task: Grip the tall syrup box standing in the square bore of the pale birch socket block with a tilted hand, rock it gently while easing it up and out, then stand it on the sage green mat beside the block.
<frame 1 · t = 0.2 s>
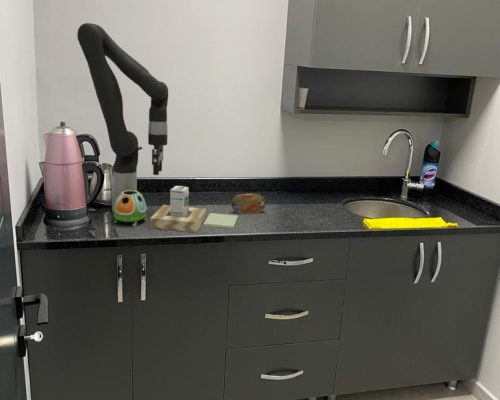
hand: (157, 172, 203), 18 cm above the worktop, tool pointing down, fingers open, 8 cm apart
turtle holder: (131, 220, 200), on the worktop
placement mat: (221, 221, 204), on the worktop
socket block: (179, 222, 200), on the worktop
syrup box: (179, 223, 200), resting in socket block
tin: (247, 212, 219), on the worktop
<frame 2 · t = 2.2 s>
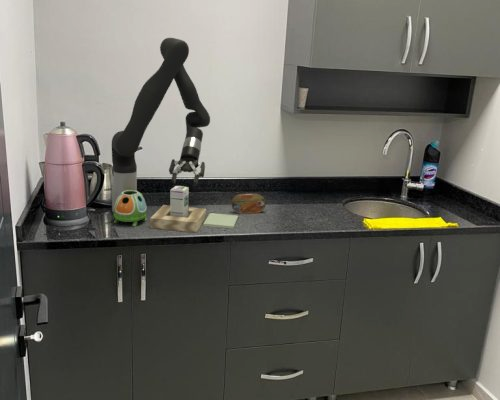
hand: (184, 183, 202), 14 cm above the worktop, tool tilted 45°, fingers open, 8 cm apart
nothing on the worktop moved.
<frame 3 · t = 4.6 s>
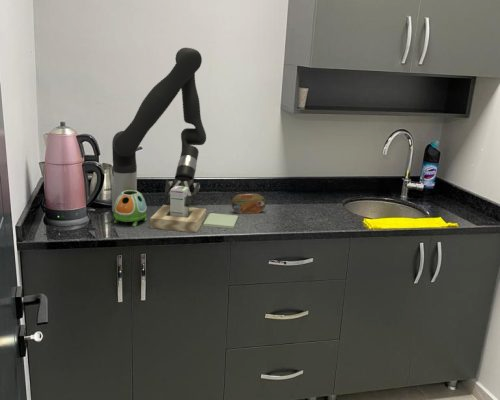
hand: (178, 205, 196), 8 cm above the worktop, tool tilted 45°, fingers closed on syrup box, 6 cm apart
syrup box: (179, 223, 200), resting in socket block, touching gripper
everything else where it was.
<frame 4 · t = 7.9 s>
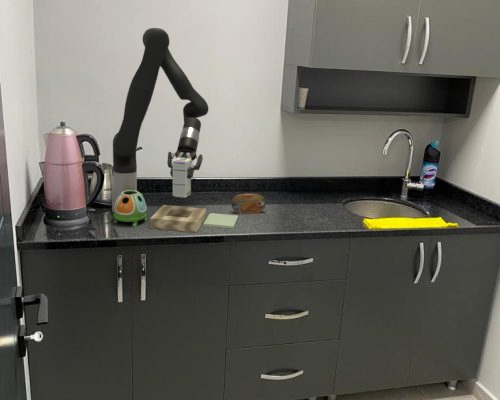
hand: (181, 176, 193), 19 cm above the worktop, tool tilted 45°, fingers closed on syrup box, 6 cm apart
syrup box: (181, 195, 197), point 11 cm above the worktop, touching gripper
everything else where it was.
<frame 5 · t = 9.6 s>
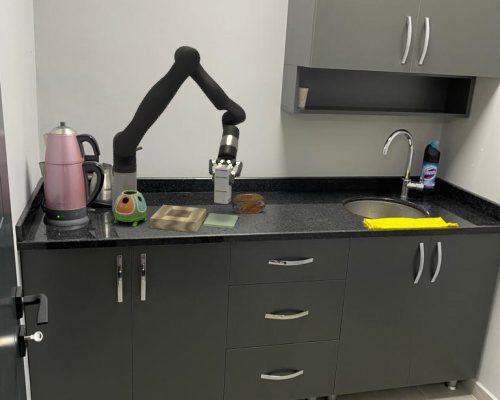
hand: (222, 183, 198), 16 cm above the worktop, tool tilted 45°, fingers closed on syrup box, 6 cm apart
syrup box: (222, 202, 202), point 8 cm above the worktop, touching gripper
everything else where it was.
when the fingers open (10 cm above the worktop, at t = 11.1 s): syrup box drops 1 cm, resting on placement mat.
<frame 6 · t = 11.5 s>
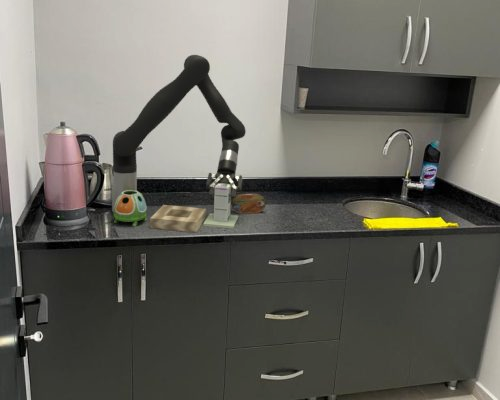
hand: (221, 197, 200), 11 cm above the worktop, tool tilted 45°, fingers open, 8 cm apart
syrup box: (221, 219, 204), point 1 cm above the worktop, touching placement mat
everything else where it was.
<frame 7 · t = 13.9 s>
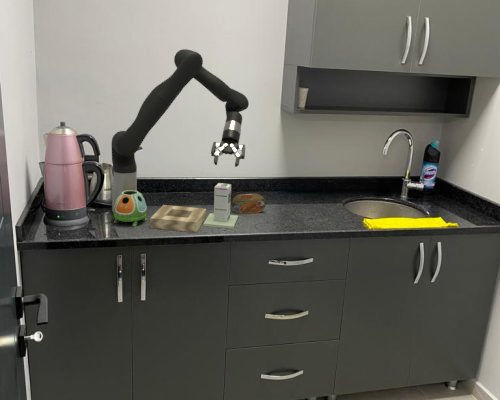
hand: (225, 164, 209), 21 cm above the worktop, tool tilted 45°, fingers open, 8 cm apart
nothing on the worktop moved.
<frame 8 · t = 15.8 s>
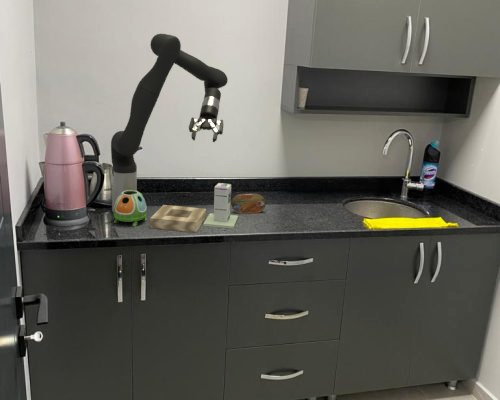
hand: (203, 140, 209), 31 cm above the worktop, tool tilted 45°, fingers open, 8 cm apart
nothing on the worktop moved.
at the end: syrup box 0.2 cm from the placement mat (horizontally); syrup box tilted 0°; the gripper is holding nothing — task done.
